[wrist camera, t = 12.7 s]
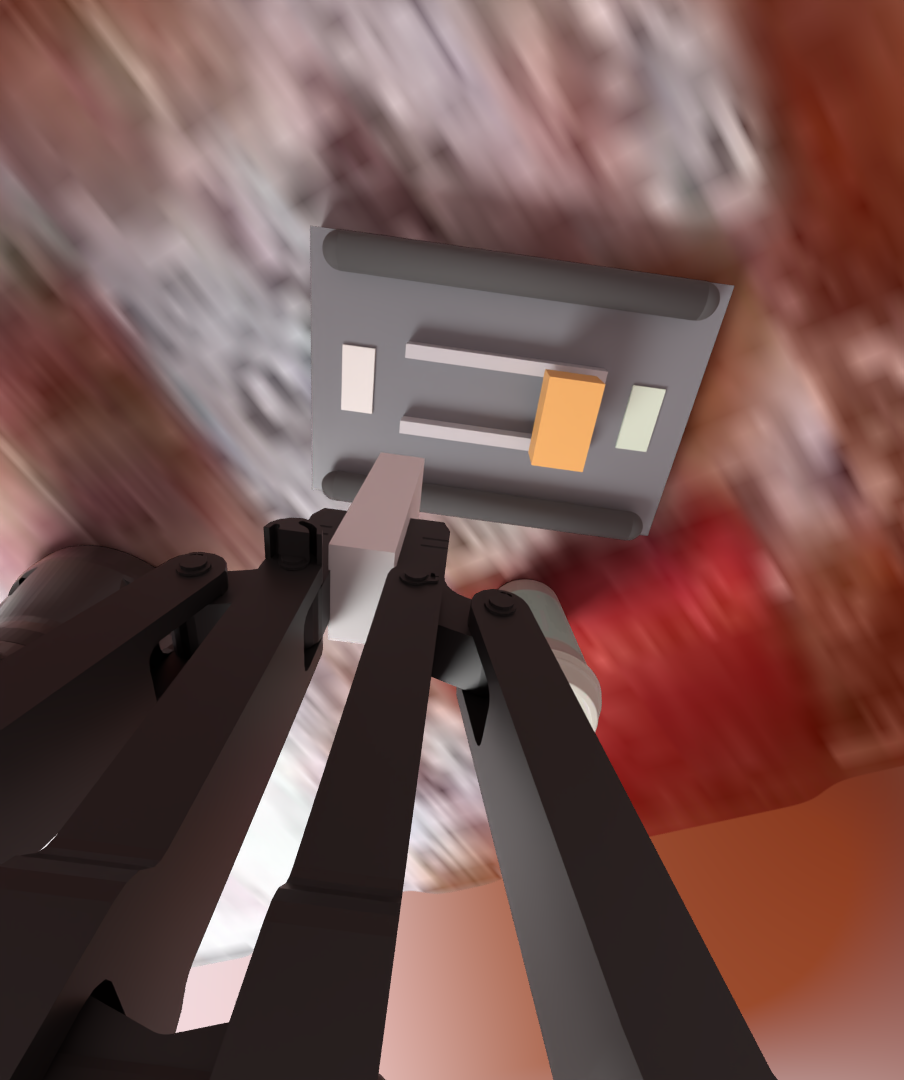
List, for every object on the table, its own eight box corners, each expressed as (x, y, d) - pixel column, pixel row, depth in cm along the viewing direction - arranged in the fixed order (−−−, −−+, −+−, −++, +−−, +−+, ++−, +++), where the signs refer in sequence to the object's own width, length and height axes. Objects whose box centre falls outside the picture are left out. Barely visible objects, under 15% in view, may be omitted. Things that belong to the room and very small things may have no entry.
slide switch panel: (320, 479, 38) (306, 496, 35) (320, 228, 30) (303, 223, 27) (640, 523, 38) (652, 543, 35) (719, 285, 30) (744, 286, 27)
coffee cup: (462, 573, 41) (454, 679, 30) (570, 555, 39) (601, 660, 29) (483, 655, 45) (482, 774, 34) (581, 641, 43) (613, 761, 33)
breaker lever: (525, 442, 33) (531, 465, 29) (541, 363, 31) (549, 376, 27) (571, 448, 33) (582, 472, 29) (590, 370, 31) (605, 384, 27)
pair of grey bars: (326, 491, 36) (317, 502, 34) (328, 228, 28) (317, 225, 27) (633, 533, 36) (641, 547, 34) (716, 283, 28) (732, 284, 27)
